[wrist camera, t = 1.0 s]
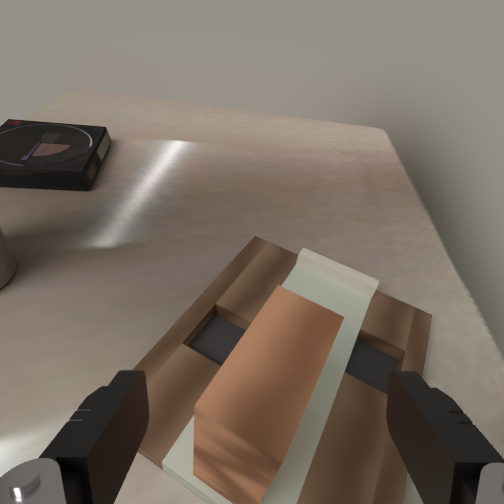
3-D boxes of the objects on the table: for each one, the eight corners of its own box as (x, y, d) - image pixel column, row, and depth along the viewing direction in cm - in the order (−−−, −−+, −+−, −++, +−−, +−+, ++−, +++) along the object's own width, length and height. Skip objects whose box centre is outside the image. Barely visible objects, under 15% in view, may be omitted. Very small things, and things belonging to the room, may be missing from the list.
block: (192, 474, 25) (194, 405, 17) (255, 369, 32) (277, 284, 24) (251, 517, 24) (282, 462, 16) (304, 397, 31) (344, 317, 23)
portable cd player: (91, 194, 53) (86, 171, 51) (-29, 188, 51) (-41, 164, 48) (112, 147, 65) (109, 127, 63) (16, 140, 63) (8, 119, 60)
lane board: (98, 421, 29) (88, 401, 26) (253, 246, 48) (257, 224, 45) (370, 623, 22) (395, 622, 19) (424, 324, 41) (440, 304, 39)
